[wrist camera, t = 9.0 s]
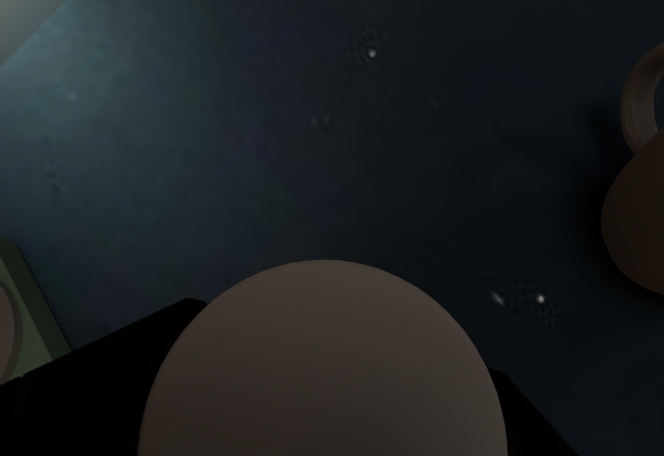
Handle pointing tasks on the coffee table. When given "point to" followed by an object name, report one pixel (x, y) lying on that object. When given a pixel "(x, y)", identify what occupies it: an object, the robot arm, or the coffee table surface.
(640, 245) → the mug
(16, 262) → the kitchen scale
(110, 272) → the coffee table surface
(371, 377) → the pill bottle
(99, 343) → the robot arm
